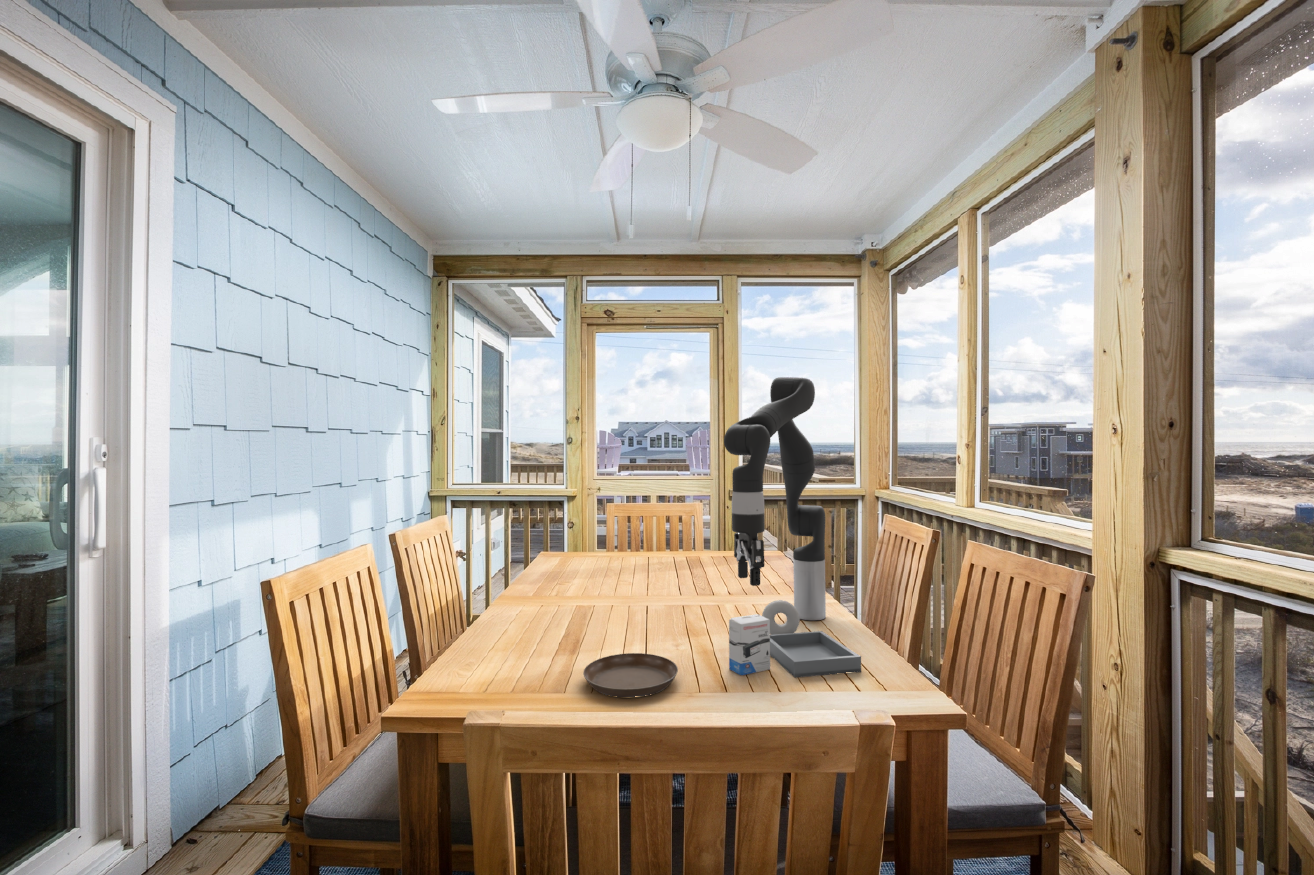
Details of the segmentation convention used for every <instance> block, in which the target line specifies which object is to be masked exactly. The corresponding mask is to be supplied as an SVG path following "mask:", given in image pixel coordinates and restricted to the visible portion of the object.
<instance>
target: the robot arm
mask: <svg viewBox="0 0 1314 875" xmlns="http://www.w3.org/2000/svg"><path fill="white" fill-rule="evenodd" d="M815 388H816V387H815V385H814V382H813V381H812V380H811V379H809V378H807V377H794V376H792V377H791V376H790V377H789V376H788V377H787V376H782V377H781V376H780V377H775V378H774V379H773V380H772V382H771V386H770V392H769V394H770V402H769V403H767V404H765V405H762V406H761V407H759V409H757V410H756V411H755V412H754V413H753V414H752V415H751V416H749V417H746V418H744V419H742V420H739V421H737V422H735V423H733V424H731V425H730V426H729V427H728V429H726V432H725V434H724V437H723V446H724V448H725V449H726V451H727V452H728V453H729V454H731V455H733V456H750V459H749V460H748V462H747V463H746V464H743V465H738V466H736V467H734V468H733V469H732V473H731V474H732V476H731V477H732V480H731V482H732V484H731V485H732V497H731V531H732V532H733V533H734V534H733V536H734V537H733V538H734V539H733V541H734V542H733V547H734V549H733V552H734V553H733V556H734V558H735V559H736V562H737V577H738V578H740V579H748V577H749V584H750V586H753V587H756V586H760V585H761V569H762V568H765V565H766V564H765V546H764V545H765V542H764V540H763V539H760V540H759V536H758V535H759V534H760V533H761V534H762V533H764V532H765V529H766V528H765V527H766V525H765V523H766V522H765V518H766V517H765V498H764V497H765V496H764V471H765V466H766V462H767V457H768V454H769V450H770V446H771V438H772V437H773V436H774V435H775V434H776V433H777V436H778V442H779V443H778V444H779V452H780V453H779V454H780V455H779V456H780V463H781V469H782V476H783V482H784V489H785V497H786V498H785V499H786V514H787V515H786V517H787V518H786V519H787V527H788V530H789V531H788V532H789V533H790V534H791V535H792V536H796V537H797V536H798V537H812V538H813V539H812V541H811V542H809V543H808V544H805V545H801V546H799V547H796V548H795V549H793V552H792V554H793V555H792V556H793V558H792V559H793V560H792V563H793V566H792V568H793V606H794V607H795V608H796V609H797V611H798V613H799V618H800V620H805V621H820V620H821V621H822V620H824V619H826V614H827V612H826V606H827V605H826V604H827V603H826V601H827V600H826V551H825V550H826V546H825V544H826V542H825V540H826V538H825V537H826V534H825V533H826V511H825V509H824V507H823V506H820V505H807V504H806V505H805V504H804V505H801V504H800V505H799V499H800V497H801V495H802V493H803V492H804V490H805V488H806V487H807V485H808V484H809V483H810V481H811V479H812V478H813V476H814V474H815V470H816V465H815V457H814V449H813V446H812V444H811V443H810V441H809V440H808V439H807V437H806V436H805V435H804V433H802V431H801V430H800V429H799V428H798V427H797V425H796V423H795V422H794V419H795V418H797V417H799V416H801V415H802V414H804V413H806V412H808V411H809V410H810V409H811V407H813V404H814V402H815V397H816V389H815ZM748 566H749V567H748ZM748 568H749V569H748ZM748 571H749V572H748Z"/></svg>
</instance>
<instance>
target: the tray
mask: <svg viewBox="0 0 1314 875" xmlns="http://www.w3.org/2000/svg"><path fill="white" fill-rule="evenodd" d="M770 658H772V659H773V660H775V662H776V663H778V664H779V665H780V666H781V667H782V668H784V670H786V672H788V673H789V674H790V675H791V676H793V678H795V679H797V678H805V677H819V676H829V675H830V674H832V675H838V674H837V673H844V674H847V673H846V672H856V673H862V656H861V655H860V654H858V653H857V652H855V651H853V650H852V649H850V648H849V647H847V646H846V645H844V644H843V643H841V642H839V641H838V640H836V639H835V638H833V636H830V635H829V634H827V633H826V632H824V631H823V630H817V631H804V632H803V631H801V632H800V631H799V632H794V633H786V634H772V635H771V634H770Z"/></svg>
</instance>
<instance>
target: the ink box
mask: <svg viewBox="0 0 1314 875" xmlns="http://www.w3.org/2000/svg"><path fill="white" fill-rule="evenodd" d="M770 635H771V634H770V619H767V618H765V617H763V616H762V614H750V615H743V616H735V617H730V619H728V643H729V644H728V653H729V654H728V663H729V664H728V668H729V670H730V671H732V672H734V673H736V674H737V675H739V676H745V675H751V674H753V673H754V674H756V673H759V672H764V671H769V670H771V656H770Z"/></svg>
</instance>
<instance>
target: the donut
mask: <svg viewBox="0 0 1314 875" xmlns="http://www.w3.org/2000/svg"><path fill="white" fill-rule="evenodd" d="M777 614H783V615H785V616H786V621H785V622H784V623H783V624H779V623H777V622H776V620H775V617H776V615H777ZM761 616H763V617H765V618H767V619H770V635H772V634H786V633H796V632H797V629H799V628H798V627H799V626H800V620H801V619H800V618H799V613H798V611H797V609H796V608H795V607H794V604H792V603H791V602H789V601H786V600H783V599H778V600H773V601H770V603H768V604H767V605H766V606H765V607H764V609H763V610H762V614H761Z"/></svg>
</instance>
